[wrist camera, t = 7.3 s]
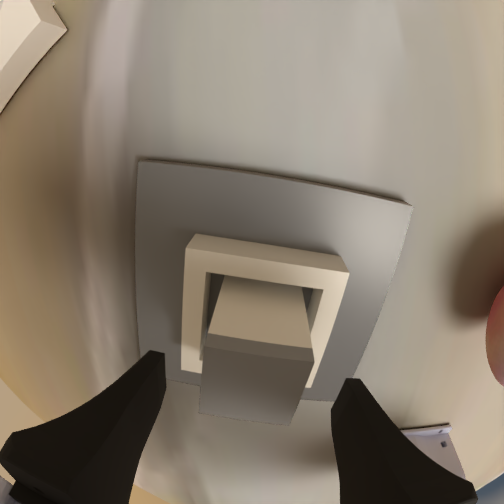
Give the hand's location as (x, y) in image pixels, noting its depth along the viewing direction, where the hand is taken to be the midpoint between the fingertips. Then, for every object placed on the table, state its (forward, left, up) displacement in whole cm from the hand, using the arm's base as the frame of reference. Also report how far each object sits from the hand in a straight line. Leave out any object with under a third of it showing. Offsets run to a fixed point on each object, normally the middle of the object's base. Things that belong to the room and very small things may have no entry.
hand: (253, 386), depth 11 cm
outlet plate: (0, 0, -7) cm, 7 cm away
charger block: (0, 0, -6) cm, 6 cm away
